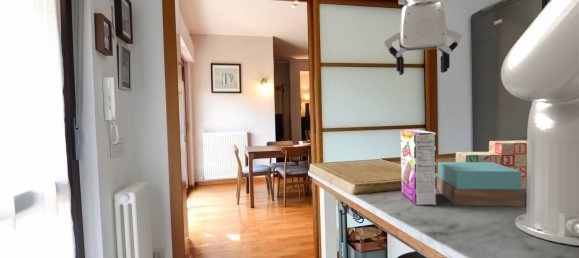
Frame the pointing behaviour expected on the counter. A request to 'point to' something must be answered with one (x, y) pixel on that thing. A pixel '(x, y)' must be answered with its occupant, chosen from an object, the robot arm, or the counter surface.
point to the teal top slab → (479, 175)
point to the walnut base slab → (481, 195)
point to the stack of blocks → (502, 156)
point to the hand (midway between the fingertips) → (422, 73)
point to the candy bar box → (418, 166)
